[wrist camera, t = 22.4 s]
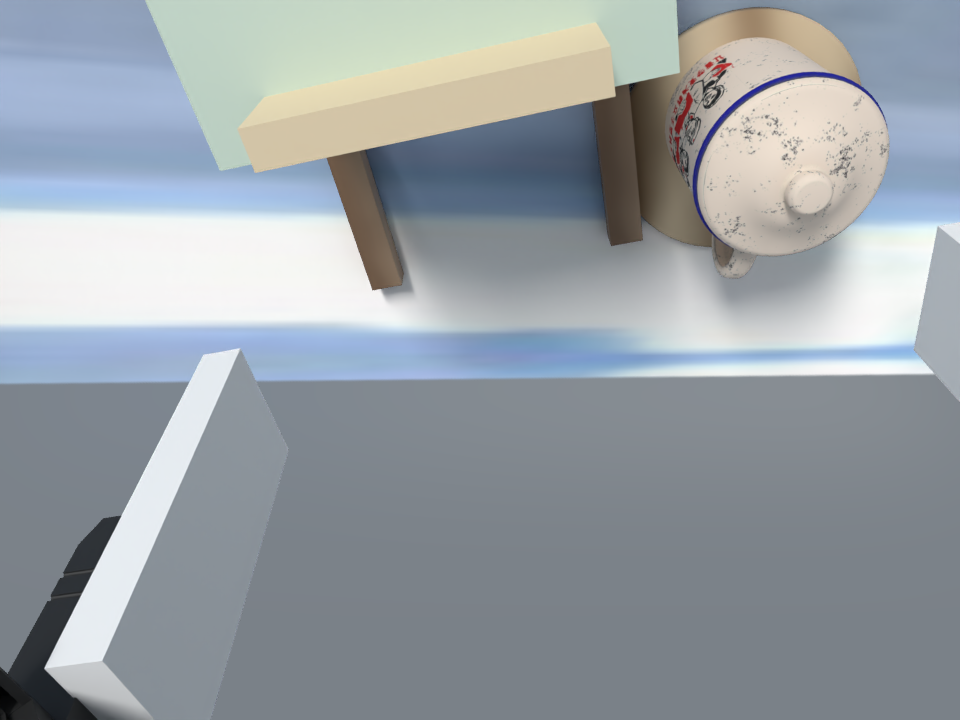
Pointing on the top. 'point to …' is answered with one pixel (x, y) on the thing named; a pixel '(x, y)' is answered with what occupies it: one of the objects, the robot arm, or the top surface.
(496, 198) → the top surface
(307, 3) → the small green table
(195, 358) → the top surface
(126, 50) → the top surface
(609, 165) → the rails
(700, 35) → the trivet
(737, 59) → the teacup with lid
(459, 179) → the top surface
